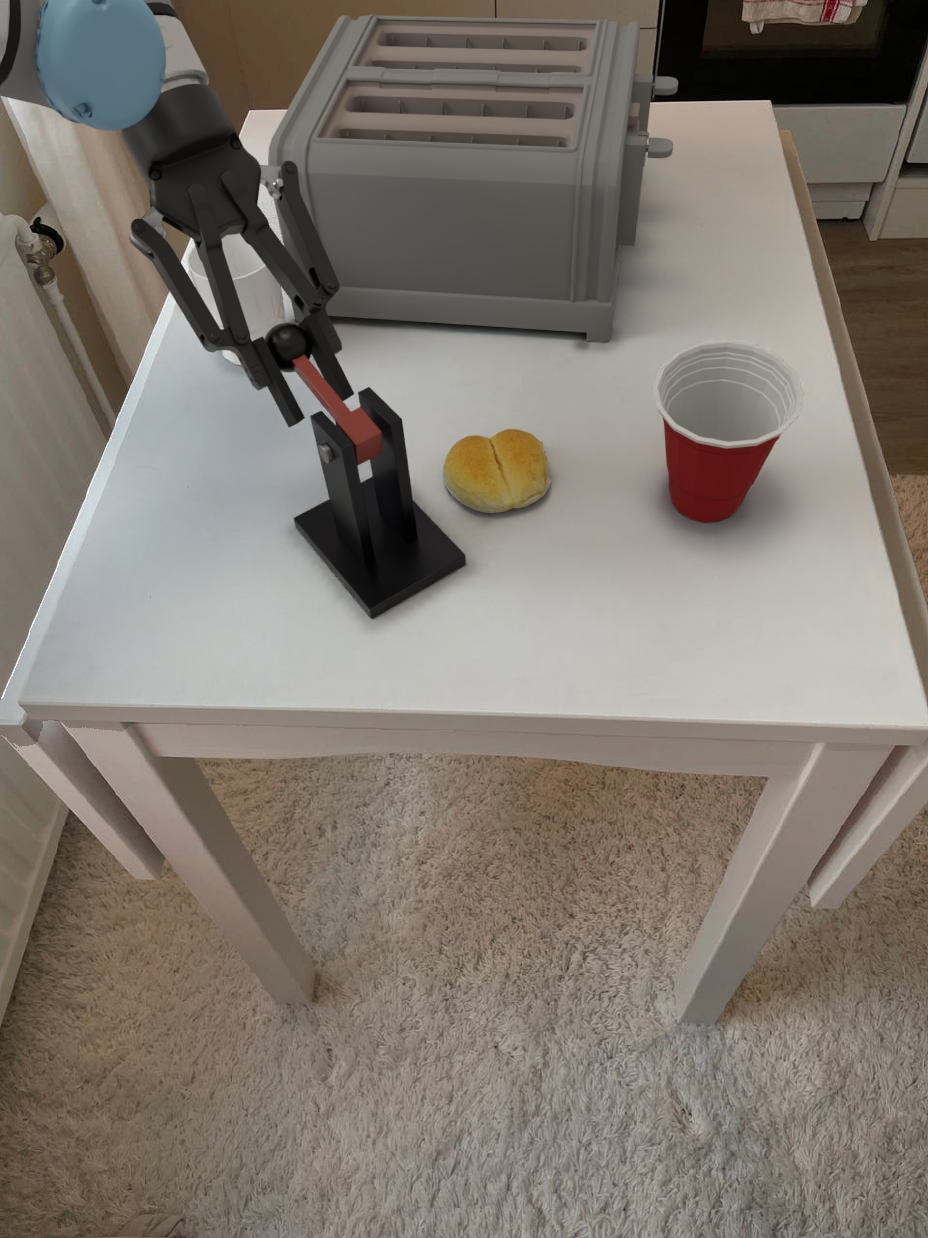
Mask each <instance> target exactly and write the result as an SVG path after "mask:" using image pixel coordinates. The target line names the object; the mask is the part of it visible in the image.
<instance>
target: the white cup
mask: <svg viewBox="0 0 928 1238" xmlns="http://www.w3.org/2000/svg"><path fill="white" fill-rule="evenodd" d="M221 240H222V247H223V251H224V254H225V258H226V261H227V264H228V267H229V270H230V273H231V276H232V279H233V282H234V285H235V289H236V292H237V295H238V298H239V301H240V304H241V307H242V310H243V313H244V316H245V320H246V323H247V326H248V329H249V332H250V338H251V340H252V342H253V341H254V340H256V339H258V338H260V337H262V336H263V338H264V339H265V336H266V334H267V333H268V331H269V330H270V329H271V328H272V327H274V326H276V325H278V324H281V323H287V322H286V310H285V305H284V297H283V291H282V290H283V289H282V287H281V286H280V284H279V283H278V282H277V280H276V279H275V278H274V276H273V275H272V273H271V272H270V271H269V269H268V268H267V267H266V265H265V264H264V263H263V261H262V260H261V258H260V257H259V256H258V254H257V253H256V252H255V250H254V249H253V248H252V246H251V245H249V244H247V243H246V242H245V240H244V239H243V238H242V236H241V235H240V234H233V235H226V236H225V237H224V238H222V239H221ZM186 264H187V268H188V271H189V273H190V275H191V280H192V282H193V284H194V286H195V287H196V289H197V291H198V292H199V294H200V296H201V297H202V299H203V301H204V302H205V304H206V306H207V307H208V309H209V311H210V312H211V314H212V316H213V317H214V319H215V321H216V322H217V324H218V326H219V327H220V329H224V328H223V325H222V321H221V318H220V315H219V312H218V309H217V306H216V303H215V300H214V297H213V294H212V291H211V288H210V285H209V282H208V279H207V276H206V272H205V269H204V266H203V263H202V261H201V260H200V258H199V256H198V253H197V250H196V247H195V245H194V246H193V247H192V248H191V249H190V251H189V252H188V254H187V258H186ZM221 353H222V356H223V358H224V359H225V360H227V361H229V362H230V363H232V364H234V365H237V366H242V365H241V363H240V361H239V359H238V357H237V356H236V354H235V353H233V352H231V351H229V350H222V351H221Z"/></svg>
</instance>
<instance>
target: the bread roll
mask: <svg viewBox="0 0 928 1238" xmlns="http://www.w3.org/2000/svg"><path fill="white" fill-rule="evenodd" d="M442 475H443V480H444V481H443V482H444V484H445V487H446V489H447V491H448V492H449V493H450V494H451V495H452V497H454V499H455V500H457V501H458V502H459V503H461V504H462V505H464V506H465V507H467V508H470V509H472V510H474V511H477V512H480V513H486V514H495V513H496V514H498V513H504V512H508V511H510V510H512V509H522V508H526V507H528V506H530V505H533V504H534V503H536V502H538V501H539V500H540V499H542V498H543V497H544V496H545V495H546V494H547V493H548V490H549V488H550V486H551V484H552V480H551V476H550V468H549V461H548V456H547V454H546V450H545V446H544V442H543V441H542V440H541V439H539V438H538V437H537V436H536V435H534V434H532V432H528V431H525V430H523V429H522V430H521V429H517V428H507V429H504V430H500V431H498V432H497V433H495V434H494V435H492V436H490V437H486V436H483V435H467V436H465V437H463V438H461V439H459V440H458V441H456V442H455V443H454V444H453V445H452V446H451V448H450V449H449V451H448V453H447V455H446V458H445V461H444V465H443V470H442Z"/></svg>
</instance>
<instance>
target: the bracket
mask: <svg viewBox="0 0 928 1238" xmlns="http://www.w3.org/2000/svg"><path fill="white" fill-rule="evenodd" d="M357 395H358V396H357V397H358V402H359V407H362V409H363V410H364V411H365V412H366V414H367V415H368V416H369V417H370V418H371V420H372V421H373V422H374V423H375V424H376V426H377V427H378V428H379V429H380V431H381V432H382V453H381V454H379V455H377V456H376V457H374V458H372V459H370V460H369V463H370V469H371V476H370V477H369V478H367V479H365V480H362V481H361V477H360V473H359V467H358V466H359V465H358V466H357V461H356V456H355V450H354V445H353V443H352V442H351V441H350V440H349V439H348V438H347V437H346V436H345V435H344V434H343V433H342V432H341V430H340V429H339V428H338V427H337V426H336V423H335V422H333V420H331V419H330V417H329V416H328V415H326V413H324V411H323V410H319V411H317V412H315V413H313V414H311V415H310V416H309V418H310V423H311V427H312V432H313V436H314V439H315V443H316V448H317V452H318V457H319V461H320V465H321V469H322V475H323V477H324V482H325V487H326V490H327V495H328V499H327V500H325V501H323V502H321V503H319V504H317V505H315V506H313V507H311V508H310V509H308V510H306V511H304V512H302V513H300V514H298V515H296V516H294V517H293V522H294V526H295V528H296V529H297V531H298V532H299V533H300V534H301V535H302V537H303V538H304V539H305V540H306V542H307V543H308V544H309V545H310V546H311V548H312V549H313V550H314V552H316V554H317V555H318V556H319V557H320V559H322V561H323V562H324V563H325V564H326V566H327V567H328V569H330V571H331V572H332V573H333V574H334V575H335V577H336V578H337V579H338V580H339V582H341V584H342V585H343V587H345V589H346V590H347V591H348V592H349V594H350V595H351V596H352V598H354V600H355V601H356V602H357V603H358V604H359V605H360V607H361V608H362V609H363V611H364V612H365V613H366V614H367V615H368V617H369V618H370V619H372V620H373V619H375V618H376V617H378V616H379V615H381V614H383V613H384V612H387V611H388V610H390V609H391V608H393V607H395V606H397V605H398V604H400V603H402V602H403V601H406V600H407V599H409V598H410V597H412V596H414V595H416V594H417V593H419V592H421V591H423V590H424V589H426V588H427V587H429V586H431V585H433V584H434V583H437V582H438V581H440V580H442V579H443V578H445V577H447V576H448V575H450V574H452V573H453V572H455V571H457V570H459V569H460V568H462V567H464V566H466V565H467V561H466V559H467V558H466V554H465V552H463V551H462V550H461V549H460V547H459V546H458V545H457V544H456V543H455V542H454V541H453V540H452V539H451V538H450V537H449V536H448V535H447V534H446V533H445V532H444V531H443V530H442V529H441V527H440V526H439V525H437V523H436V522H435V521H433V519H432V518H431V517H430V516H429V515H428V514H427V513H426V512H425V511H424V510H423V508H421V507H420V506H419V505H418V504H417V503H416V501H415V500H414V499H413V491H412V483H411V477H410V476H411V475H410V468H409V462H408V453H407V446H406V445H407V444H406V438H405V429H404V424H403V423H404V422H403V418H402V417H401V416H400V415H399V414H398V413H397V412H396V411H395V410H393V409H392V408H391V406H390V405H389V404H387V403H386V401H384V400H383V399H382V398H381V396H380V395H379V394H377V393H376V392H375V391H374V390H373V389H372V388H371V387H370V386H368V387H366V388H364V389H362V390H359V391H357Z"/></svg>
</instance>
